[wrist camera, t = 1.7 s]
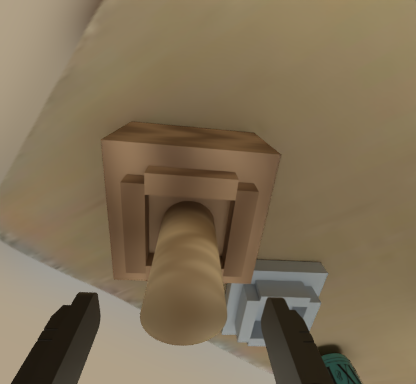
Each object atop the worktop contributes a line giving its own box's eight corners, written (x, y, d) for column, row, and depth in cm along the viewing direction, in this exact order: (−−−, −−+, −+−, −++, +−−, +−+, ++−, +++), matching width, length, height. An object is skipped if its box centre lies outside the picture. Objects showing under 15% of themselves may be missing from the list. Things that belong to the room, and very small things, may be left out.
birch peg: (216, 202, 17) (233, 287, 10) (211, 246, 19) (221, 345, 12) (162, 199, 17) (139, 284, 10) (161, 243, 19) (141, 345, 11)
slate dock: (320, 262, 31) (339, 289, 27) (297, 322, 36) (310, 353, 32) (231, 258, 30) (237, 286, 26) (220, 321, 35) (223, 353, 31)
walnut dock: (254, 132, 23) (289, 161, 15) (236, 232, 28) (254, 297, 20) (131, 121, 22) (91, 145, 14) (135, 227, 27) (107, 293, 19)
